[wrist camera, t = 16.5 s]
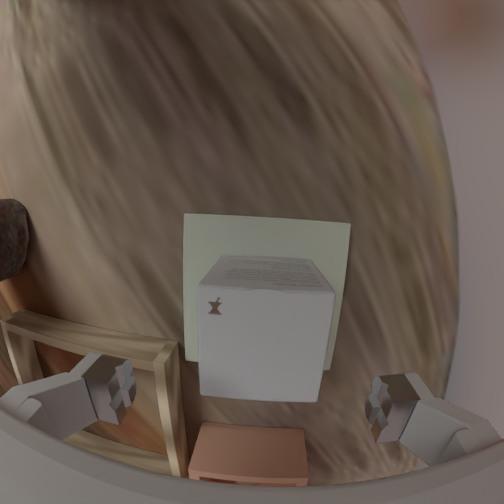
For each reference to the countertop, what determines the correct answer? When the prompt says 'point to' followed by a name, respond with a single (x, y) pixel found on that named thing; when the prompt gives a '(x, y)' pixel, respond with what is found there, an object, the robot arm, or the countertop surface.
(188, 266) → the plate
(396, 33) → the countertop surface
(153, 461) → the crate
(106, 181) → the countertop surface
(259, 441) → the pot
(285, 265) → the product box
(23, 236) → the grey brown tall cylinder
